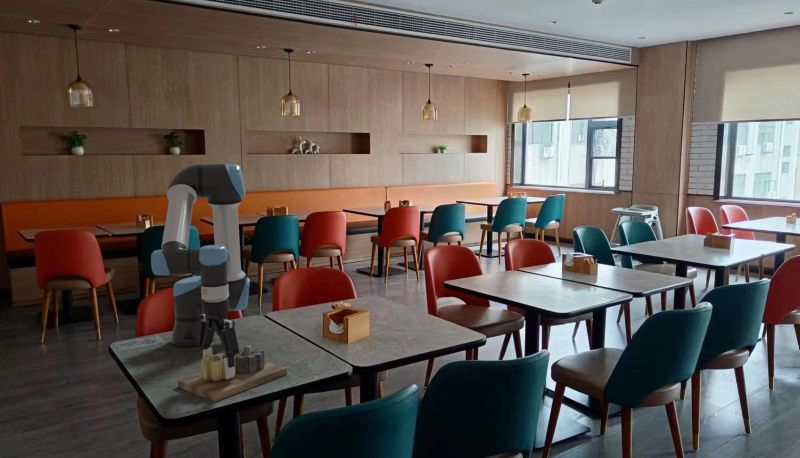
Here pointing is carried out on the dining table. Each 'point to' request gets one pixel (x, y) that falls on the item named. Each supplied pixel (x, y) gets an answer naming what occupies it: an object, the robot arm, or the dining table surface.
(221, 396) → the gear board
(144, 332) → the dining table surface
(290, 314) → the dining table surface
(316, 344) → the dining table surface
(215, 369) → the brass gear
